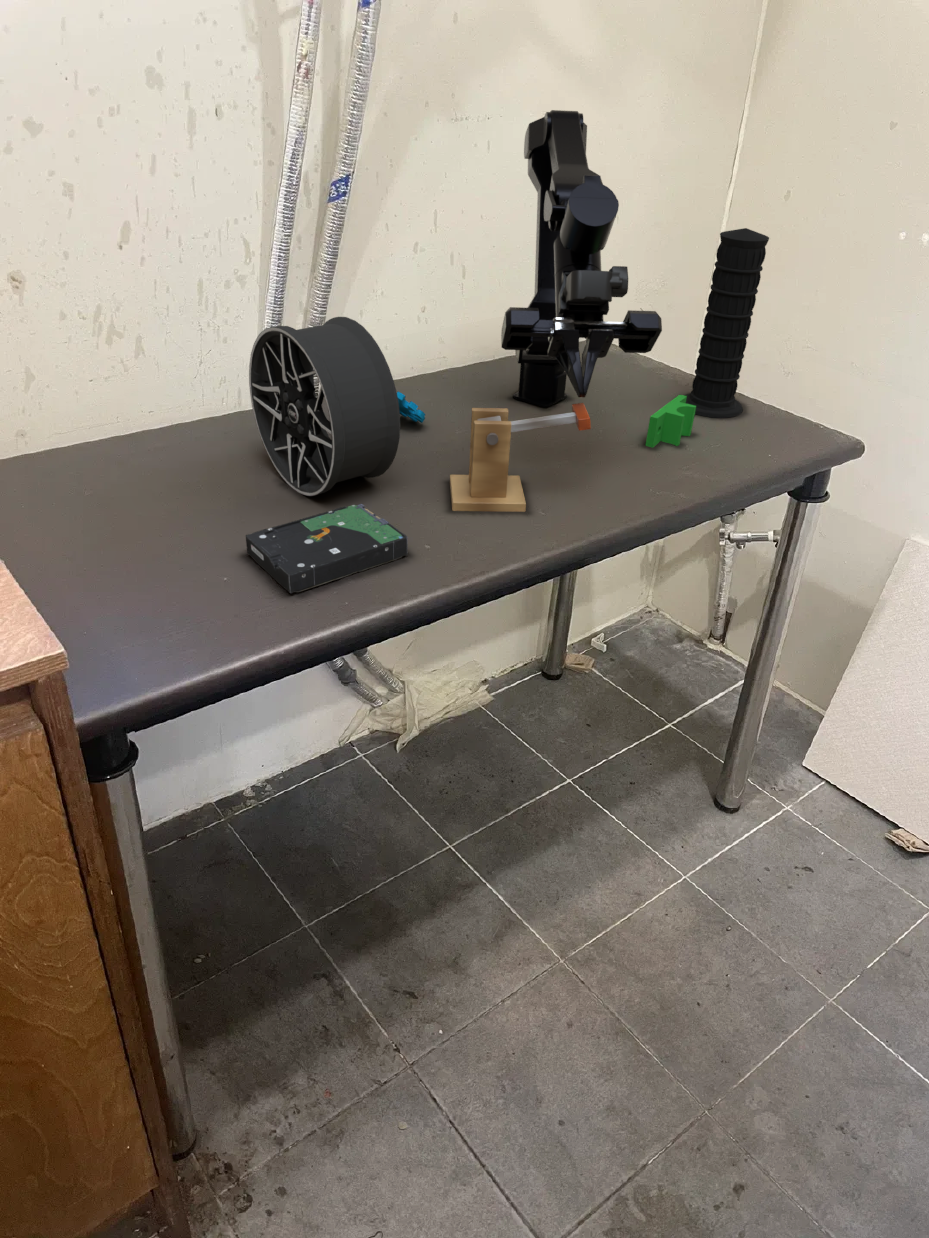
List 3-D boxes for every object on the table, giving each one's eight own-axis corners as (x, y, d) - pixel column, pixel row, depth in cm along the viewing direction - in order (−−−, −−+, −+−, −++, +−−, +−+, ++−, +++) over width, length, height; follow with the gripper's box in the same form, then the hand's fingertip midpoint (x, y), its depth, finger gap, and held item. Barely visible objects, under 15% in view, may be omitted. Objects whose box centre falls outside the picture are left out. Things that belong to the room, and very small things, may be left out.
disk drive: (291, 599, 94) (409, 556, 102) (289, 576, 93) (409, 534, 100) (245, 557, 101) (359, 520, 108) (243, 534, 99) (358, 499, 107)
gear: (440, 420, 131) (395, 380, 124) (418, 455, 131) (372, 416, 124) (398, 406, 139) (353, 367, 132) (377, 439, 138) (331, 401, 132)
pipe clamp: (669, 453, 129) (675, 423, 126) (645, 447, 131) (649, 416, 128) (698, 428, 137) (703, 399, 134) (674, 422, 138) (679, 393, 136)
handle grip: (678, 413, 142) (744, 421, 140) (711, 232, 127) (785, 238, 125) (679, 391, 150) (741, 398, 148) (709, 219, 135) (779, 224, 133)
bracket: (518, 483, 119) (525, 404, 113) (525, 512, 112) (532, 429, 106) (449, 482, 118) (452, 402, 112) (452, 511, 111) (455, 428, 105)
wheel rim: (256, 462, 121) (242, 308, 110) (316, 446, 126) (308, 298, 114) (337, 521, 108) (330, 354, 97) (400, 501, 113) (401, 340, 102)
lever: (584, 417, 112) (583, 398, 111) (591, 433, 108) (590, 414, 107) (478, 432, 113) (476, 414, 111) (481, 449, 109) (479, 430, 107)
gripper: (510, 235, 103) (512, 362, 100) (671, 240, 105) (679, 366, 102) (499, 289, 114) (502, 405, 111) (646, 293, 116) (652, 408, 113)
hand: (582, 396), depth 109 cm, fingers closed
